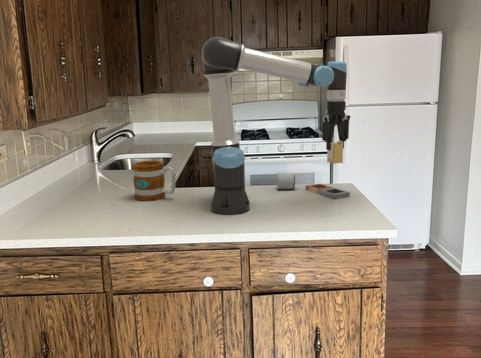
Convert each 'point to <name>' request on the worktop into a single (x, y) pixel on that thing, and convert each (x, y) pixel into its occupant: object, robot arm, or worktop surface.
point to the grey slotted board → (327, 191)
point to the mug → (151, 180)
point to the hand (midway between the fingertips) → (335, 157)
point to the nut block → (336, 153)
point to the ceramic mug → (285, 181)
